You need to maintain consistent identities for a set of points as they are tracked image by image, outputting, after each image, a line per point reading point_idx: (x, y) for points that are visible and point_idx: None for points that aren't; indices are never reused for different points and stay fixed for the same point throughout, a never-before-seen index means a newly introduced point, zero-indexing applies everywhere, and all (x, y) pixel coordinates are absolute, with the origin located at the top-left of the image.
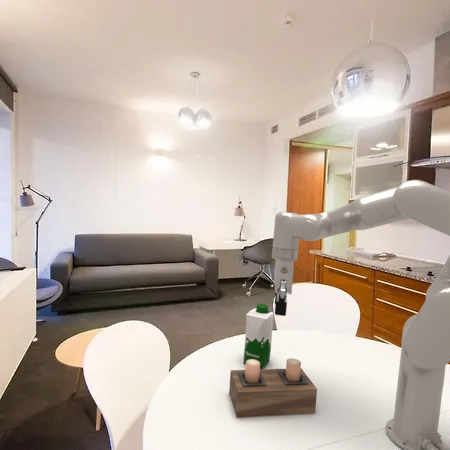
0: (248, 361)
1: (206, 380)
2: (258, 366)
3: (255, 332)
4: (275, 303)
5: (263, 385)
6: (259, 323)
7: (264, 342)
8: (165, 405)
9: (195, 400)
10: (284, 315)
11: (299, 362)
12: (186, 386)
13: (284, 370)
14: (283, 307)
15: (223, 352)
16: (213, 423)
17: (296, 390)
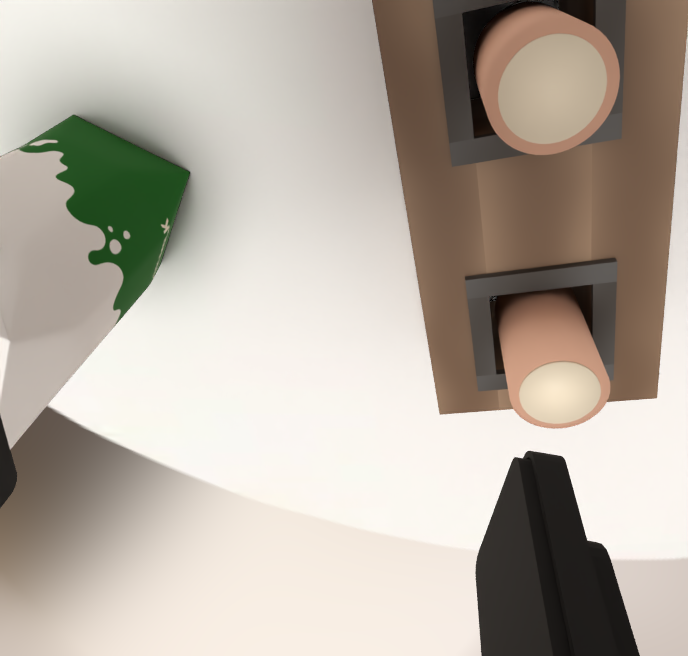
0: (548, 416)
1: (350, 420)
2: (598, 361)
3: (90, 334)
4: (11, 486)
5: (615, 277)
6: (42, 357)
7: (104, 231)
8: None
9: (495, 453)
10: (554, 468)
11: (576, 36)
12: (404, 479)
13: (413, 107)
14: (629, 645)
15: None
16: (645, 402)
17: (683, 61)
